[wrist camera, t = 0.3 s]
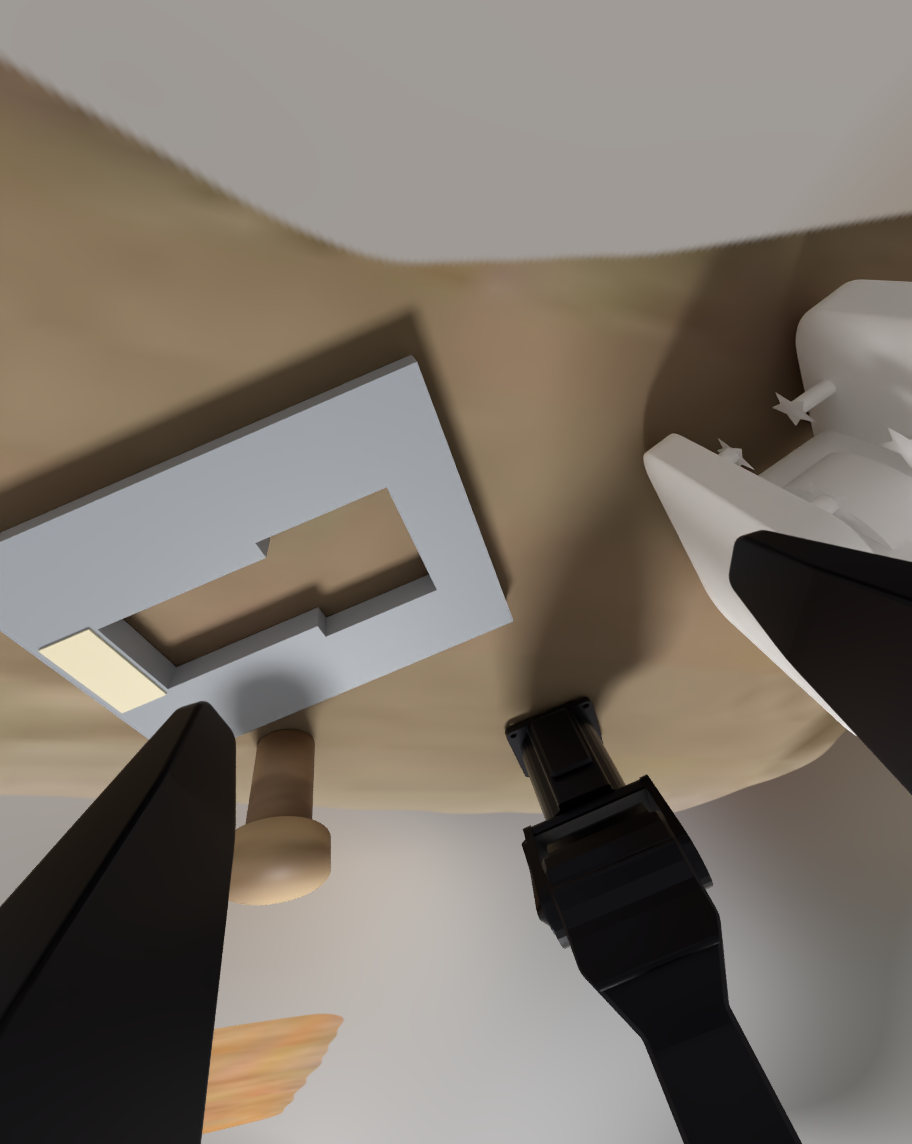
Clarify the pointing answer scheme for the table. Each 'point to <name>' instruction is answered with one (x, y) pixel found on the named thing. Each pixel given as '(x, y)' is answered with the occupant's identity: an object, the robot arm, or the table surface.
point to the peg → (280, 826)
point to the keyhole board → (254, 560)
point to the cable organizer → (810, 455)
